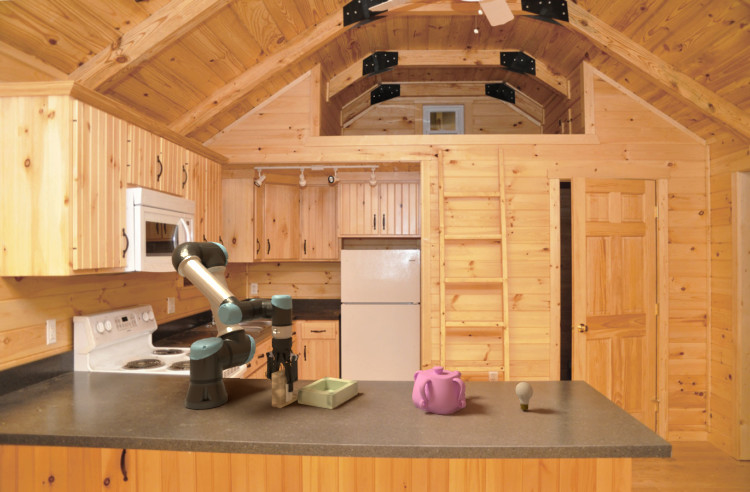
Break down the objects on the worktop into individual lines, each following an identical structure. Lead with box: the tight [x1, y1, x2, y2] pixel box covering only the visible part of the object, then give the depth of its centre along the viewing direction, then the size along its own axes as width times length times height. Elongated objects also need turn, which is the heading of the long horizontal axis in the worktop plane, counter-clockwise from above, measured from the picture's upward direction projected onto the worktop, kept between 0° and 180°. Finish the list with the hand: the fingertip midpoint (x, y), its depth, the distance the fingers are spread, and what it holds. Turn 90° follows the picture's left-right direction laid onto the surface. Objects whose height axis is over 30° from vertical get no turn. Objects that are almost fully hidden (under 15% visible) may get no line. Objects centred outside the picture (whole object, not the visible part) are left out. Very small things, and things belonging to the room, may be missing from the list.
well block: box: [297, 376, 359, 410], centre depth 171 cm, size 15×19×5 cm
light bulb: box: [515, 381, 534, 412], centre depth 156 cm, size 6×6×10 cm
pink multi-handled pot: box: [411, 365, 467, 416], centre depth 163 cm, size 19×21×14 cm
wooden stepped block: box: [271, 368, 298, 409], centre depth 166 cm, size 4×10×12 cm, turn 153°
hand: (282, 399), depth 165 cm, fingers open, 5 cm apart
